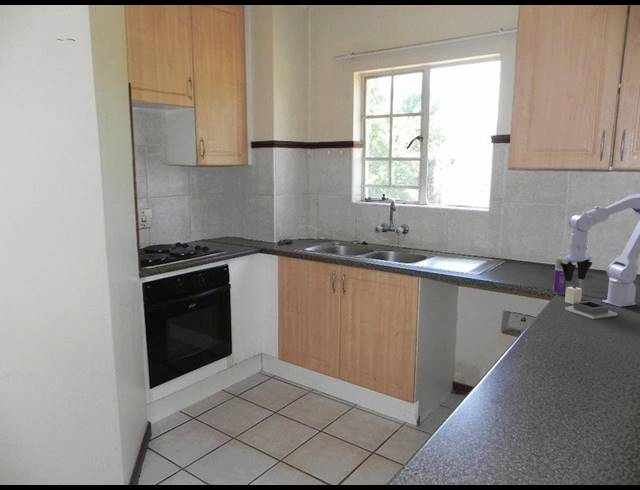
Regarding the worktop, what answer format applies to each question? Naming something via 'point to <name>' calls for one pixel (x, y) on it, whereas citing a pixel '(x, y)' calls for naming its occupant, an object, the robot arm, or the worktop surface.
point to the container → (559, 278)
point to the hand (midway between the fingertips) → (574, 280)
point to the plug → (573, 294)
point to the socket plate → (591, 309)
